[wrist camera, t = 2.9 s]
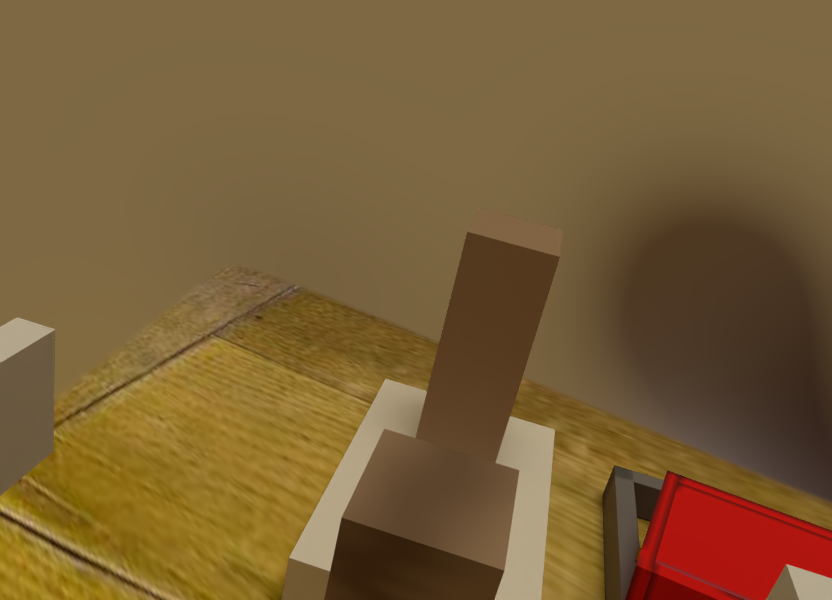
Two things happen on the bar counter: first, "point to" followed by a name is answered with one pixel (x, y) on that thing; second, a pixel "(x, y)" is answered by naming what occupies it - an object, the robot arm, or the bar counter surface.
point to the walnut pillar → (424, 525)
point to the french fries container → (721, 546)
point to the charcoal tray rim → (625, 525)
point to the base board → (406, 422)
